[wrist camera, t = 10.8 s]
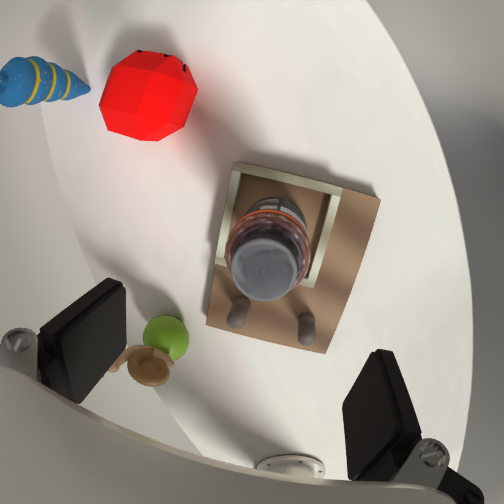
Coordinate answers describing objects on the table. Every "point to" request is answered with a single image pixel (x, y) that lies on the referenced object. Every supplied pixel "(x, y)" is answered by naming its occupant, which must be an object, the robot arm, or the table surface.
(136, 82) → the ball
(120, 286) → the robot arm
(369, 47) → the table surface
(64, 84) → the ornament
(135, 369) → the snail figurine
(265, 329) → the pin board
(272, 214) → the supplement bottle
